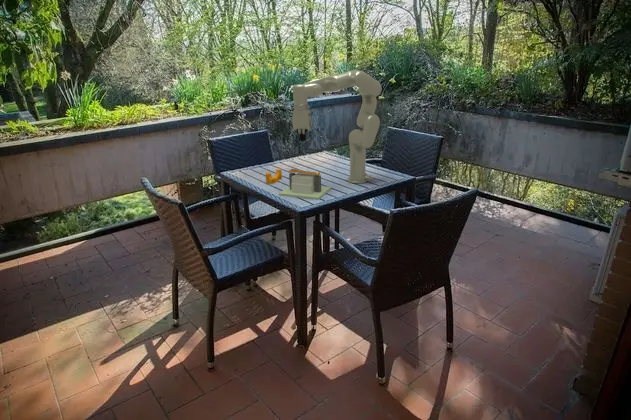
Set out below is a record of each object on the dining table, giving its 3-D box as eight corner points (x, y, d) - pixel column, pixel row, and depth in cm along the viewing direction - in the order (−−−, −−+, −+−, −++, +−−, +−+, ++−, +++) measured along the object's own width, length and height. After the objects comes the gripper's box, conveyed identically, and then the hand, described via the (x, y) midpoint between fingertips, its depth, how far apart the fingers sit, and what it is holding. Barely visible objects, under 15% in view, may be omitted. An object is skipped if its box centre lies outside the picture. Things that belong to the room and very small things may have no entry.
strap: (320, 174, 238) (320, 171, 237) (317, 176, 233) (317, 174, 233) (292, 170, 244) (292, 167, 243) (288, 172, 239) (288, 170, 239)
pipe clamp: (271, 184, 258) (270, 174, 256) (266, 183, 261) (265, 173, 259) (283, 179, 268) (283, 169, 265) (278, 178, 270) (278, 169, 268)
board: (330, 189, 247) (330, 171, 243) (318, 199, 229) (318, 181, 226) (293, 185, 255) (293, 168, 252) (279, 195, 238) (278, 177, 234)
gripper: (316, 106, 231) (317, 139, 237) (291, 106, 236) (293, 139, 243) (310, 108, 224) (312, 142, 231) (285, 108, 230) (288, 141, 236)
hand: (303, 140), depth 237 cm, fingers closed
